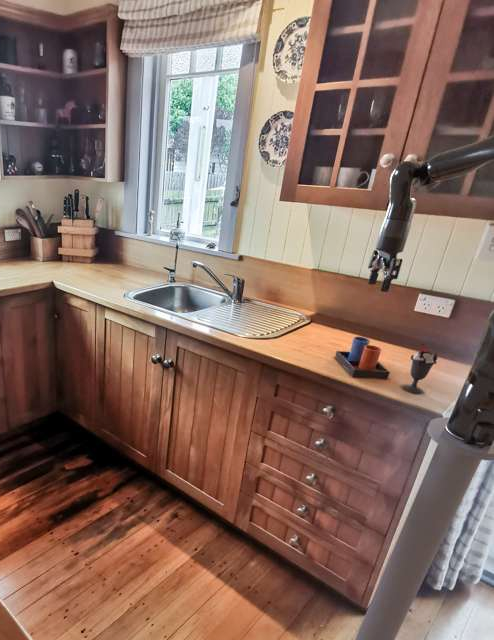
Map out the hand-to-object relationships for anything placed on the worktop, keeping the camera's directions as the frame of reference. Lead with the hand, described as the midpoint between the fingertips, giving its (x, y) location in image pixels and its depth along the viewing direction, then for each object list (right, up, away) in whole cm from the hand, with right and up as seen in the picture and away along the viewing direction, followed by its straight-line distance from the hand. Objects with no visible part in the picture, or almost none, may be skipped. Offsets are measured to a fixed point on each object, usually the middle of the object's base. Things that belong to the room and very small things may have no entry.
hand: (377, 287), depth 146 cm
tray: (-1, -25, +8) cm, 26 cm away
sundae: (+8, -32, -5) cm, 33 cm away
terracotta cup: (-1, -26, +4) cm, 26 cm away
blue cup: (-2, -23, +11) cm, 25 cm away
